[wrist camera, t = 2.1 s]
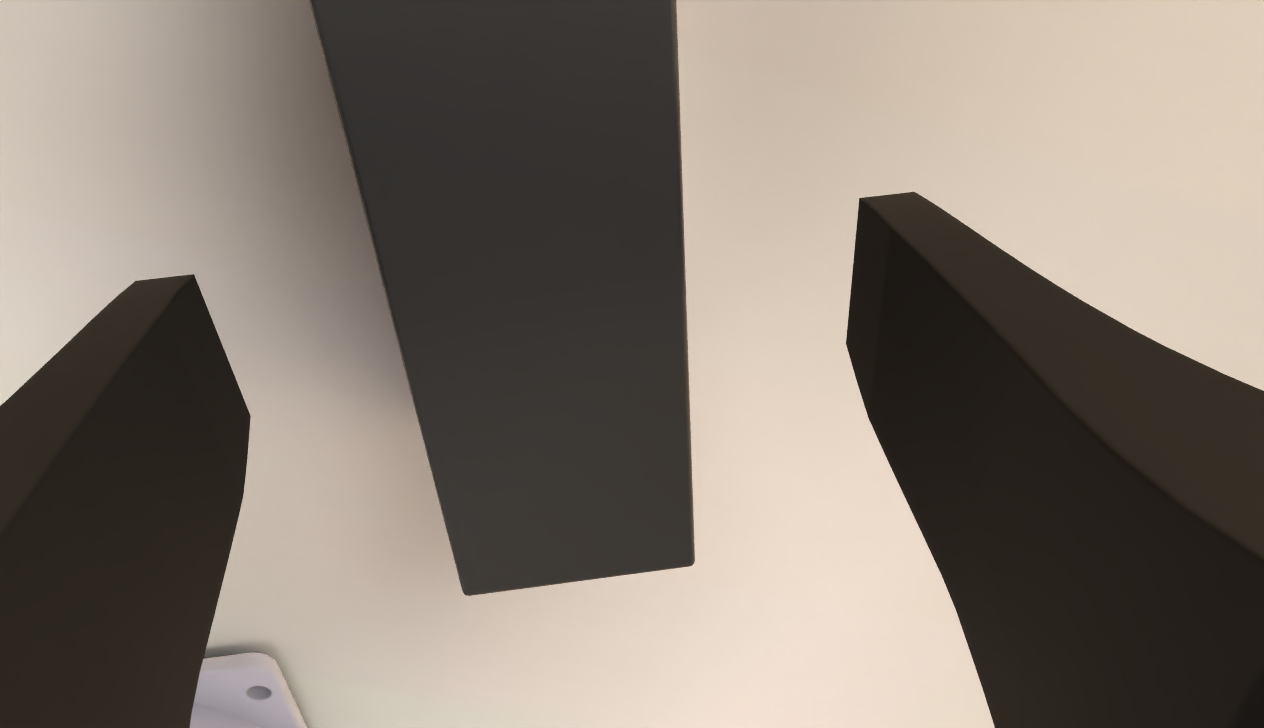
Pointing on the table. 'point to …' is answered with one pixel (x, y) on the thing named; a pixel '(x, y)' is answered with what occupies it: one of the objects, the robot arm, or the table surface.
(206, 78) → the table surface
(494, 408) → the dark grey eraser block
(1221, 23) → the table surface
